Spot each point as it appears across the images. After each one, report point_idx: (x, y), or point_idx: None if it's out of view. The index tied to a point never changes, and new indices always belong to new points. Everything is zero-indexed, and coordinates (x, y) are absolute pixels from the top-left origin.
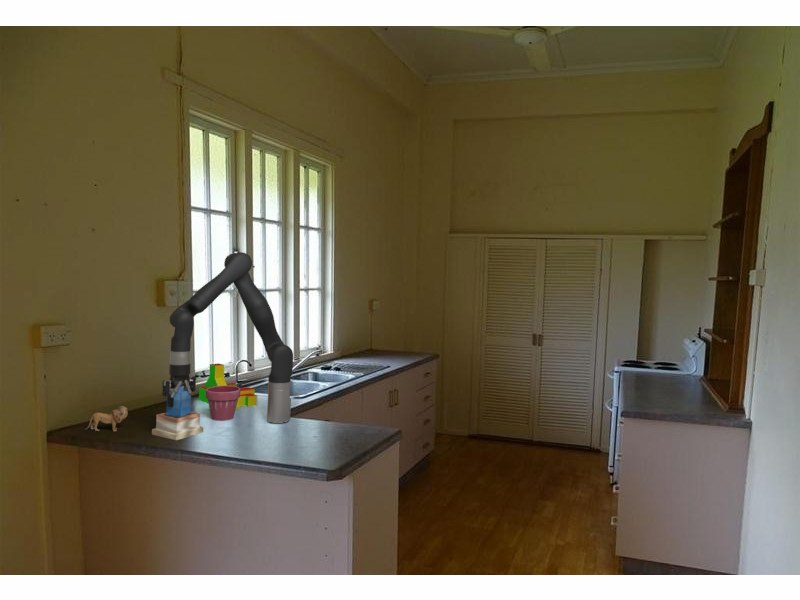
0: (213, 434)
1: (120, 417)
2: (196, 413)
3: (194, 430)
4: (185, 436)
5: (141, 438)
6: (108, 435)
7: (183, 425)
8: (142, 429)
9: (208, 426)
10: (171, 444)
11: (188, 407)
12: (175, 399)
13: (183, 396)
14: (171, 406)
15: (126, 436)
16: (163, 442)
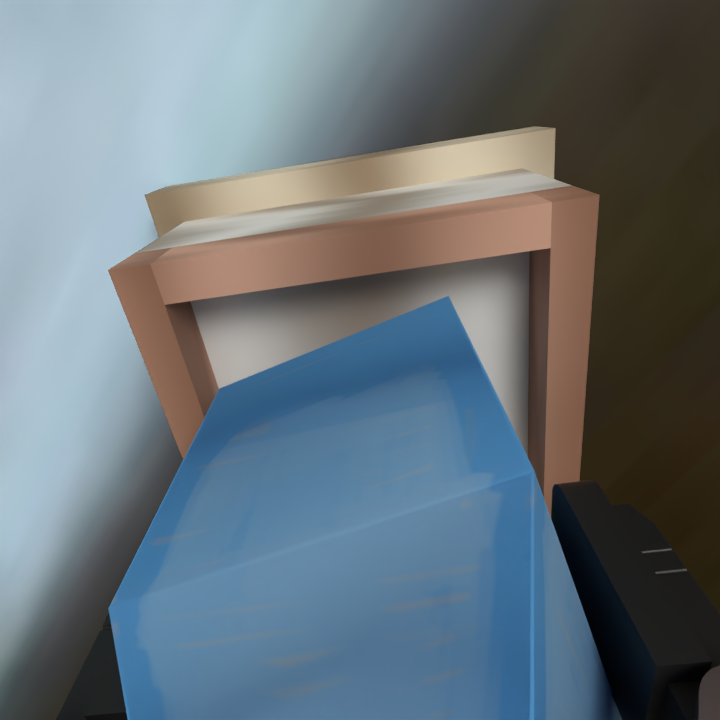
0: (105, 15)
1: None
2: (160, 301)
3: (281, 171)
4: (408, 147)
5: (653, 399)
6: (706, 579)
7: (434, 195)
8: None
9: (39, 328)
10: (664, 21)
11: (248, 423)
12: (577, 603)
13: (402, 612)
14: (595, 493)
15: (668, 502)
16: (650, 160)
